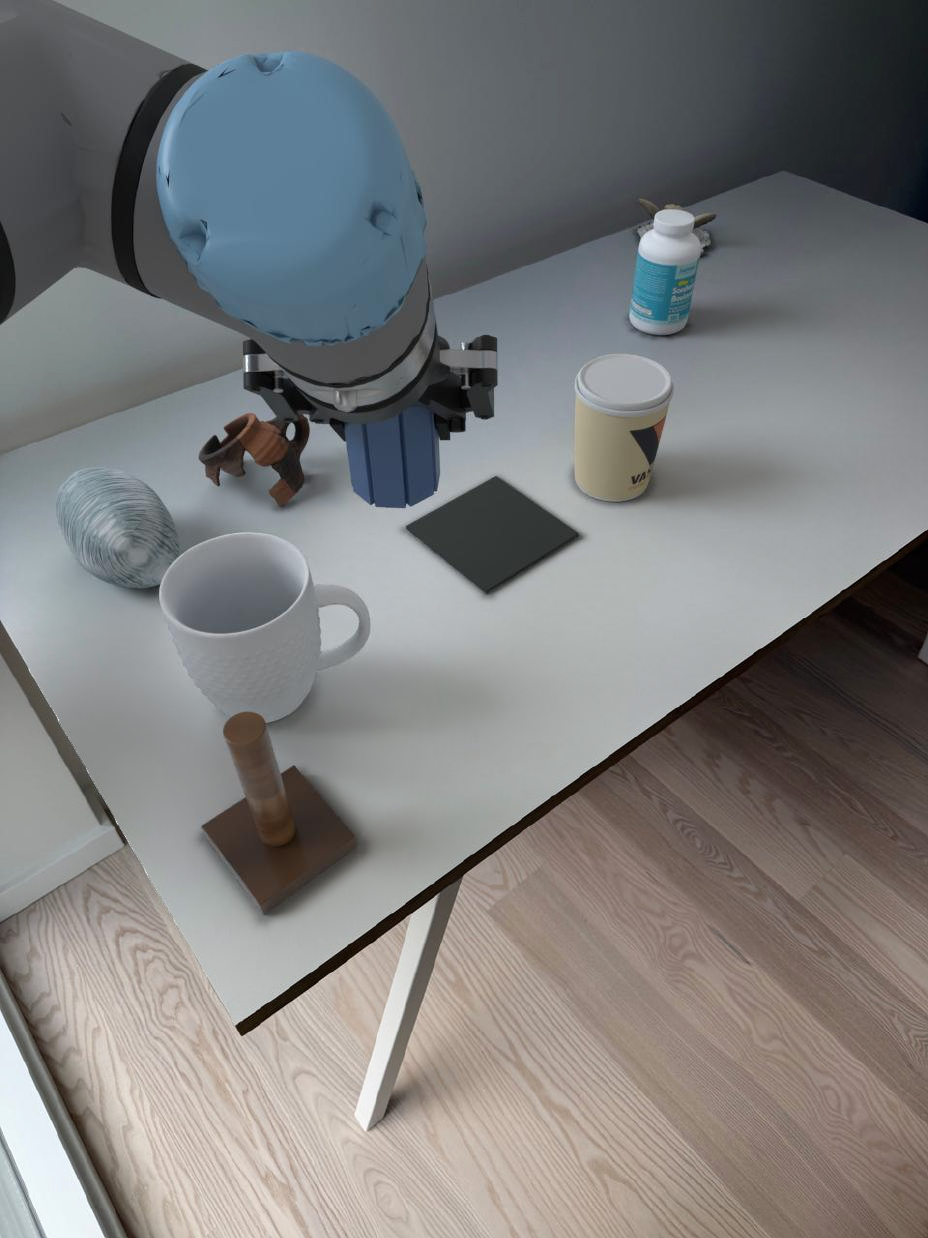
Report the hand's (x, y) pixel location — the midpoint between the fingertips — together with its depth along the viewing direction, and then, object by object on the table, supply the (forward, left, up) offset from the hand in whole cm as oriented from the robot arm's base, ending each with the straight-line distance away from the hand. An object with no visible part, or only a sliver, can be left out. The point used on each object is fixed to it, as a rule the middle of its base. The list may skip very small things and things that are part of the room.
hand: (396, 421), depth 63 cm
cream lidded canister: (-3, +29, -22) cm, 36 cm away
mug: (-2, -13, -22) cm, 25 cm away
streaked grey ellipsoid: (-25, -15, -22) cm, 36 cm away
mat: (-5, +14, -21) cm, 26 cm away
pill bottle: (-21, +57, -22) cm, 64 cm away
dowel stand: (+10, -20, -21) cm, 31 cm away
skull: (-35, +77, -22) cm, 87 cm away
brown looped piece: (-27, +2, -22) cm, 34 cm away
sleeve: (+3, -2, -2) cm, 4 cm away
